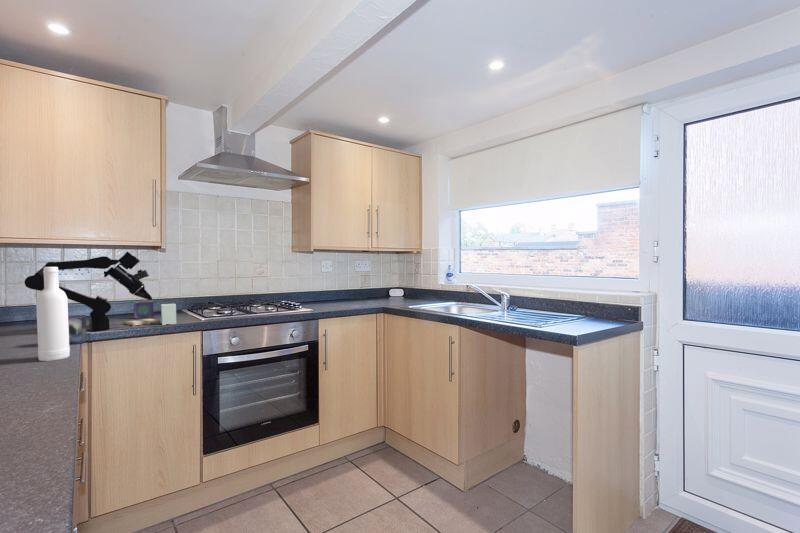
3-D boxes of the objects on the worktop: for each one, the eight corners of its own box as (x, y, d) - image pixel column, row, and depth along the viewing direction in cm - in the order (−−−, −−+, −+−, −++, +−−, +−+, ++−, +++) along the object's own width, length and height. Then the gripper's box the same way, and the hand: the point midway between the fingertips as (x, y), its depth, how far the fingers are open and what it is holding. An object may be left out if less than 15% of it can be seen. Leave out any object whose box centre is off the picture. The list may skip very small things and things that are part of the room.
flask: (133, 319, 218) (133, 299, 218) (135, 318, 221) (134, 298, 220) (153, 318, 221) (152, 298, 221) (154, 317, 224) (154, 297, 223)
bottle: (31, 361, 129) (27, 267, 128) (52, 355, 137) (48, 266, 136) (56, 361, 129) (52, 267, 128) (76, 355, 137) (72, 266, 136)
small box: (47, 346, 151) (46, 318, 151) (54, 343, 157) (53, 316, 157) (82, 343, 156) (81, 316, 155) (87, 340, 162) (86, 314, 161)
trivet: (133, 326, 194) (133, 323, 194) (122, 324, 201) (122, 321, 201) (160, 322, 204) (160, 320, 204) (149, 320, 211) (149, 318, 211)
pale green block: (162, 325, 196) (161, 305, 196) (161, 323, 202) (160, 304, 201) (176, 323, 200) (175, 304, 199) (175, 322, 205) (174, 303, 205)
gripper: (137, 264, 185) (165, 287, 191) (136, 264, 200) (163, 285, 207) (116, 282, 181) (146, 305, 187) (117, 280, 196) (145, 301, 203)
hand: (151, 298), depth 196 cm, fingers open, 9 cm apart
